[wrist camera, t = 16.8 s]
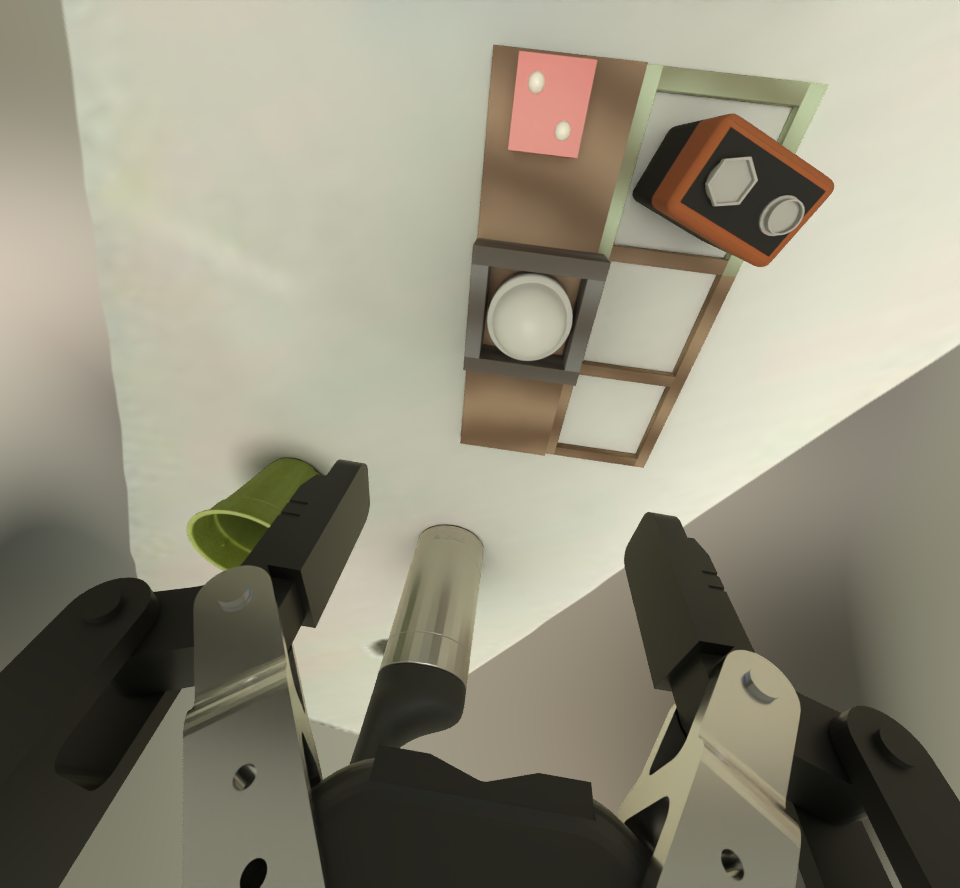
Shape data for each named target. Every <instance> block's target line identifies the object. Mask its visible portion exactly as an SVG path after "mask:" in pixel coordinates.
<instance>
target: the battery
mask: <svg viewBox="0 0 960 888" xmlns="http://www.w3.org/2000/svg"><path fill="white" fill-rule="evenodd" d="M833 190H834V183H833V181H832V180H831V179H830V178H828V177H827V176H826V175H824V174H823V173H822V172H820V171H819V170H817V169H816V168H814V167H813V166H811V165H810V164H808V163H807V162H806V161H804V160H803V159H801V158H800V157H798V156H797V155H795V154H794V153H792V152H791V151H790V150H788V149H787V148H785V147H784V146H782V145H781V144H779V143H778V142H776V141H775V140H774V139H772V138H771V137H769V136H768V135H766V134H765V133H763V132H762V131H761V130H759V129H758V128H756V127H755V126H753V125H752V124H750V123H749V122H747V121H746V120H744V119H743V118H741V117H740V116H738V115H736V114H727V115H723V116H718V117H714V118H710V119H705V120H701V121H697V122H692V123H688V124H683V125H679V126H675V127H673V128H671V129H670V131H669V132H668V134H667V135H666V137H665V139H664V140H663V142H662V144H661V146H660V147H659V149H658V151H657V152H656V154H655V156H654V157H653V159H652V161H651V162H650V164H649V166H648V167H647V169H646V171H645V172H644V174H643V176H642V177H641V179H640V181H639V182H638V184H637V186H636V187H635V189H634V191H633V197H634V199H635V200H636V201H637V202H639V203H641V204H642V205H644V206H645V207H647V208H649V209H650V210H652V211H654V212H655V213H657V214H659V215H660V216H662V217H664V218H665V219H667V220H669V221H670V222H672V223H674V224H675V225H677V226H679V227H680V228H682V229H684V230H685V231H687V232H689V233H690V234H692V235H694V236H695V237H697V238H699V239H700V240H702V241H704V242H706V243H708V244H710V245H712V246H715V247H717V248H719V249H721V250H723V251H725V252H727V253H729V254H731V255H733V256H735V257H737V258H739V259H742V260H744V261H746V262H748V263H750V264H752V265H754V266H757V267H764V266H766V265H768V264H769V263H770V262H771V261H772V260H773V259H774V258H775V257H776V256H777V254H778V253H779V252H780V251H781V250H782V249H783V248H784V247H785V245H786V244H787V243H788V242H789V241H790V240H791V239H792V237H793V236H794V235H795V234H796V233H797V232H798V231H799V230H800V228H801V227H802V226H803V225H804V224H805V223H806V222H807V220H808V219H809V218H810V217H811V216H812V215H813V214H814V213H815V211H816V210H817V209H818V208H819V207H820V206H821V205H822V204H823V202H824V201H825V200H826V199H827V198H828V197H829V196H830V194H831V193H832V192H833Z"/></svg>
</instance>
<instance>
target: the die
mask: <svg viewBox="0 0 960 888" xmlns="http://www.w3.org/2000/svg"><path fill="white" fill-rule="evenodd" d="M596 64H597V60H595V59H587V58H578V57H569V56H561V55H552V54H543V53H534V52H526V51H519V57H518V66H517V75H516V84H515V93H514V102H513V110H512V119H511V128H510V137H509V146H508V150H510V151H515V152H523V153H531V154H539V155H547V156H556V157H564V158H578V153H579V148H580V143H581V138H582V133H583V128H584V123H585V118H586V114H587V109H588V104H589V99H590V94H591V89H592V84H593V79H594V74H595V69H596Z"/></svg>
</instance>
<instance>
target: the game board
mask: <svg viewBox="0 0 960 888" xmlns="http://www.w3.org/2000/svg"><path fill="white" fill-rule="evenodd" d="M519 51H526V52H534V53H543V54H552V55H561V56H569V57H578V58H587V59H595V60H597V64H596V69H595V74H594V79H593V84H592V89H591V94H590V99H589V104H588V109H587V114H586V118H585V123H584V128H583V133H582V138H581V143H580V148H579V153H578V158H564V157H556V156H547V155H539V154H531V153H523V152H515V151H510V150H508V146H509V137H510V128H511V119H512V110H513V102H514V93H515V84H516V75H517V66H518V57H519ZM827 87H828V85H826V84H817V83H808V82H800V81H791V80H782V79H773V78H765V77H756V76H747V75H739V74H730V73H721V72H713V71H704V70H695V69H686V68H678V67H669V66H660V65H652V64H648V62H639V61H631V60H622V59H613V58H605V57H596V56H587V55H578V54H570V53H561V52H552V51H544V50H535V49H526V48H517V47H509V46H500V45H493V57H492V69H491V81H490V93H489V105H488V117H487V129H486V141H485V153H484V165H483V177H482V189H481V201H480V213H479V225H478V237H477V240H476V242H475V243H474V244H473V253H472V266H471V279H470V291H469V304H468V317H467V330H466V343H465V356H464V369H463V370H466V382H465V394H464V406H463V418H462V430H461V442H460V443H462V444H469V445H476V446H483V447H490V448H497V449H503V450H510V451H517V452H524V453H531V454H538V455H544V456H545V453H547V454H554V455H560V456H567V457H574V458H581V459H588V460H595V461H602V462H608V463H615V464H622V465H629V466H636V467H643V468H644V466H645V464H646V462H647V460H648V457H649V455H650V453H651V451H652V449H653V447H654V445H655V443H656V441H657V439H658V437H659V435H660V433H661V431H662V429H663V426H664V424H665V422H666V420H667V418H668V416H669V414H670V412H671V410H672V408H673V406H674V404H675V402H676V400H677V397H678V395H679V393H680V391H681V389H682V387H683V385H684V383H685V381H686V379H687V377H688V375H689V373H690V371H691V368H692V366H693V364H694V362H695V360H696V358H697V356H698V354H699V352H700V350H701V348H702V346H703V344H704V342H705V340H706V337H707V335H708V333H709V331H710V329H711V327H712V325H713V323H714V321H715V319H716V317H717V315H718V313H719V311H720V308H721V306H722V304H723V302H724V300H725V298H726V296H727V294H728V292H729V290H730V288H731V286H732V284H733V282H734V279H735V277H736V275H737V273H738V271H739V269H740V267H741V265H742V263H743V261H744V260H742V259H739V258H737V257H735V256H733V255H731V254H729V253H727V254H726V256H725V258H724V259H723V258H716V257H708V256H700V255H692V254H685V253H677V252H669V251H661V250H654V249H646V248H638V247H630V246H623V245H615V244H613V243H614V240H615V236H616V233H617V229H618V225H619V222H620V218H621V215H622V211H623V208H624V204H625V201H626V197H627V193H628V190H629V186H630V183H631V179H632V176H633V172H634V169H635V165H636V161H637V158H638V154H639V151H640V147H641V144H642V140H643V137H644V133H645V130H646V126H647V122H648V119H649V115H650V112H651V108H652V105H653V101H654V98H655V94H656V91H657V92H666V93H674V94H683V95H691V96H700V97H708V98H717V99H726V100H734V101H743V102H751V103H760V104H768V105H777V106H785V107H793V108H792V111H791V113H790V115H789V117H788V119H787V122H786V124H785V126H784V128H783V130H782V133H781V135H780V137H779V139H778V141H777V142H778V143H779V144H781V145H782V146H784V147H785V148H787V149H788V150H790V151H791V152H792V153H794V154H795V153H796V151H797V149H798V147H799V145H800V143H801V141H802V139H803V137H804V135H805V133H806V130H807V128H808V126H809V124H810V122H811V120H812V118H813V116H814V114H815V112H816V110H817V108H818V106H819V104H820V101H821V99H822V97H823V95H824V93H825V91H826V89H827ZM609 261H616V262H623V263H631V264H639V265H646V266H654V267H662V268H669V269H677V270H685V271H692V272H700V273H708V274H715V275H717V276H716V278H715V280H714V283H713V285H712V287H711V289H710V292H709V294H708V296H707V298H706V300H705V303H704V305H703V307H702V309H701V311H700V314H699V316H698V318H697V320H696V322H695V325H694V327H693V329H692V331H691V333H690V336H689V338H688V340H687V342H686V344H685V347H684V349H683V351H682V353H681V356H680V358H679V360H678V362H677V364H676V367H675V369H674V371H673V373H668V372H661V371H654V370H646V369H639V368H632V367H625V366H618V365H610V364H603V363H596V362H589V361H583V358H584V354H585V351H586V347H587V344H588V340H589V337H590V333H591V330H592V326H593V323H594V319H595V316H596V312H597V309H598V305H599V302H600V298H601V295H602V291H603V288H604V284H605V281H606V277H607V274H608V270H609V267H610V262H609ZM521 271H528V272H536V273H543V274H550V275H552V276H553V277H555V278H556V279H557V280H558V281H559V282H560V283H561V284H562V285H563V286H564V288H565V290H566V292H567V294H568V297H569V300H570V304H571V308H572V316H573V317H572V326H571V330H570V333H569V335H568V337H567V339H566V340H565V342H564V343H563V344H562V346H561V347H560V348H559V349H558V350H557V351H555V352H554V353H553V354H551V355H549V356H547V357H545V358H542V359H539V360H534V361H522V360H517V359H514V358H512V357H510V356H508V355H506V354H504V353H503V352H502V351H501V350H499V348H498V347H497V346H496V345H495V344H494V342H493V340H492V339H491V336H490V334H489V330H488V324H487V316H488V310H489V307H490V303H491V300H492V297H493V295H494V293H495V291H496V289H497V288H498V287H499V285H500V284H501V283H502V282H503V281H504V280H505V279H507V278H508V277H510V276H511V275H513V274H515V273H518V272H521ZM579 374H580V375H587V376H595V377H602V378H609V379H616V380H623V381H630V382H638V383H645V384H652V385H659V386H666V389H665V391H664V393H663V395H662V397H661V400H660V402H659V404H658V406H657V408H656V411H655V413H654V415H653V417H652V420H651V422H650V424H649V426H648V428H647V431H646V433H645V435H644V437H643V439H642V442H641V444H640V446H639V448H638V450H637V453H636V454H631V453H624V452H617V451H610V450H603V449H596V448H589V447H582V446H575V445H569V444H562V443H557V442H558V439H559V435H560V431H561V428H562V424H563V421H564V417H565V414H566V410H567V407H568V403H569V399H570V396H571V392H572V389H573V385H575V386H576V382H577V379H578V375H579Z"/></svg>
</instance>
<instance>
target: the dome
mask: <svg viewBox="0 0 960 888" xmlns="http://www.w3.org/2000/svg"><path fill="white" fill-rule="evenodd" d="M572 317H573V316H572V308H571V304H570V300H569V297H568V294H567V292H566V290H565V288H564V286H563V285H562V284H561V283H560V282H559V281H558V280H557V279H556V278H555V277H553V276H552V275H550V274H543V273H536V272H528V271H521V272H518V273H515V274H513V275H511V276H510V277H508V278H507V279H505V280H504V281H503V282H502V283H501V284H500V285H499V287H498V288H497V289H496V291H495V293H494V295H493V297H492V300H491V303H490V307H489V310H488V316H487V324H488V330H489V334H490V336H491V339H492V340H493V342H494V344H495V345H496V346H497V347H498V348H499V350H501V351H502V352H503V353H504V354H506V355H508V356H510V357H512V358H514V359H517V360H522V361H534V360H539V359H542V358H545V357H547V356H549V355H551V354H553V353H554V352H555V351H557V350H558V349H559V348H560V347H561V346H562V344H563V343H564V342H565V340H566V339H567V337H568V335H569V333H570V330H571V326H572Z"/></svg>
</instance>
